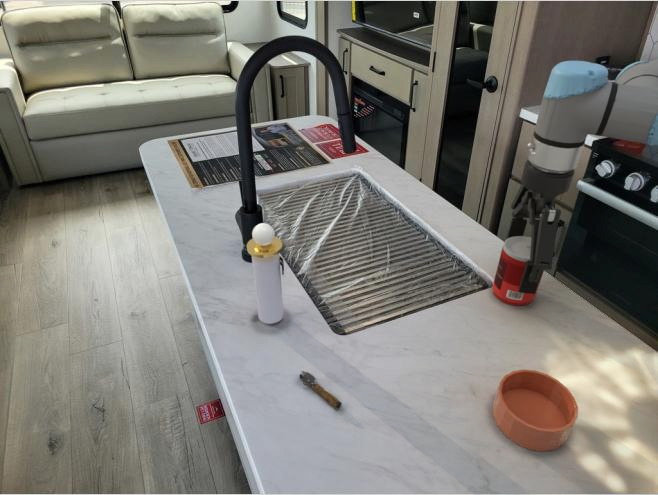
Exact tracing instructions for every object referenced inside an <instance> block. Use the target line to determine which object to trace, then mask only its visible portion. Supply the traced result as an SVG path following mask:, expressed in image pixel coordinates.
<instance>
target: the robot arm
mask: <svg viewBox="0 0 658 495" xmlns="http://www.w3.org/2000/svg"><path fill="white" fill-rule="evenodd" d="M588 135H593V136H597V137H605V138H610V139H616V140H621V141H628V142H632V143H639V144H645V145H648V146H651V147H652V146H657V147H658V58H656V59H654V60H652V61H651V60H649V61H648V60H640V61H636V62H633V63H630V64H629V65H627V66H625V67H624V68H623V69H622V70H621V71H620V72H619V73H618V74H617V76H616V78H615V79H614V82H612V81H609V70H608V67H606V66H605V65H602V64H599V63H596V62H594V63H593V62H590V61H585V60H566V61H565V60H564V61H562V62H559V63H557V64H555V66H553V68H552V69H551V72H550V74H549V78H548V80H547V84H546V87H545V90H544V93H543V96H542V100H541V103H540V107H539V111H538V115H537V119H536V123H535V127H534V130H533V135H532V139H531V142H528V143H527V144H526V148H527V149H528V153H527V160H526V161H525V163H524V167H523V171H522V174H521V179H520V182H521V185H520V187H519V189H518V191H517V193H516V195H515V197H514V199H513V200H512V202H511V204H510V209H511V210H512V212H511V217H512V218H511V220H510V225H509V228H508V232H507V235H506V238H505V241H506V240H507V239H508V238H510V237H515V236H524V234H525V230H526V227H527V225H528V223H529V225H530V226H531V234H530V238H531V253H530V260H527V261H526V262H525V264H526V267H525V270H524V273H523V276H522V279H521V282H520V286H519V289H518V291H519V293H529V294H535V292H536V289H537V287H538V284H539V281H540V278H541V275H542V272H543V270H544V271H551V270H552V267H553V260H554V254H555V246H556V240H557V232H558V225H559V221H560V218H561V214H562V212H561V209H560V208H556V198H557V197H558V196H561V195H563V194H566V193H567V192H568V191H569V190H570V187H571V185H572V182H573V178H574V175H575V170H576V168H577V167H578V165H579V162H580V159H581V157H582V154H583V150H584V148H585V145H586V140H587V137H588ZM543 273H544V272H543ZM542 276H543V275H542ZM541 279H542V278H541ZM540 282H541V281H540ZM539 285H540V284H539ZM538 288H539V287H538Z"/></svg>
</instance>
